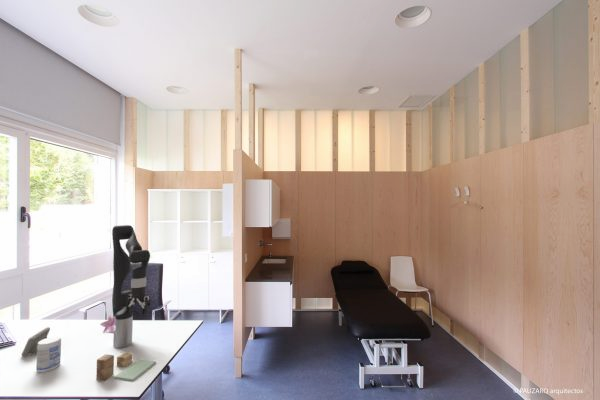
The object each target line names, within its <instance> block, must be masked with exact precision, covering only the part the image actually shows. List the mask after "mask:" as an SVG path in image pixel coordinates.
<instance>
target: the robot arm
mask: <svg viewBox="0 0 600 400" xmlns="http://www.w3.org/2000/svg"><path fill="white" fill-rule="evenodd" d="M111 235H112V246H113V262H112V264H113V267H112V268H113V288H112V289H113V291H112V292H113V293H112V306H113V308H114V309H120V308H122V309H120V310H119V311H117V312H116V313H115V316H114V317H115V328H114V331H113V339H112V342H113V347H114V348H116V349H121V348H126V347H129V346H131V345H132V344H133V325H134V324H133V322H134V321H133V320H134V319H133V318H134V317H133V315H134V312H135V304H139V305H140V306H141V308H142V309H141V315H142V316H145V315H147V313H148V312H147V309H148V308H149V307H150V306H151V296H150V295H147V296H146V293H147V268H148V264H149V261H150V258H151V253H150V251H149V250H148V249H143V248H142V245H141V244H140V243H139V241H138V239H137V235H136V233H135V230H134V227H133V226H132V225H129V224H125V225H114V226H113V227H112V232H111ZM120 240H121V241H123V240H124V241H125V240H126V242H125V249H126V250H127V252H128V254H127V252H126V251H125V250H124V249H123V247H122V244H121V241H120ZM131 264H139V265H137V266H135V267H133V268H132V266H131ZM130 272H131V281H130V289H128V290H124V291H122V290H123V285H124V282H125V280H126V279H127V278H128V276H129V274H130Z"/></svg>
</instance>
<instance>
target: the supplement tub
mask: <svg viewBox="0 0 600 400" xmlns="http://www.w3.org/2000/svg"><path fill="white" fill-rule="evenodd" d="M61 351H62V337H61V336H58V335H57V336H55V335H54V336H49V337H47V338H46V339H43V340H41V341H39V342H38V345H37V353H36V367H35V368H36V369H35V370H36V372H38V373H46V372H47V373H48V372H50V371H52V370H54V369H57V368H58V367H59V366H60V365H61V357H62V356H61Z"/></svg>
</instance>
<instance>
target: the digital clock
mask: <svg viewBox="0 0 600 400" xmlns="http://www.w3.org/2000/svg"><path fill="white" fill-rule="evenodd" d="M50 330H51V328H50V327H48V326H47V327H45V328H43V329H42V330H40V331H38V332H36V333H35V334H34V335H32V336H31V337H29V338H28V340H27V342H26V344H25V345H24V348H23V351H22V352H21V357H23V358H24V357H27V356H28V355H33V354H37V345H38V342H39V341H41V340H43V339H46V338H48V335H49V333H50Z"/></svg>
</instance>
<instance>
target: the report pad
mask: <svg viewBox="0 0 600 400" xmlns="http://www.w3.org/2000/svg"><path fill="white" fill-rule="evenodd" d="M156 363H157V361H155V360H149V359H140V358H138V359H137V360H136V361H134V362H132V364H131V363H130V364H129V366H128V365H127V366H126V367H125V368H124V369H122V371H120V372H118V373H117V374H116V375H113V376H114V377H113V379H115V380H122V381H128V382H134V381H135V380H137V379H138V378H139V377H140V376H141V375H143V374H144V373H145V372H147V371H148V370H149V369H150V368H152V367H153V366H154V365H155V364H156Z"/></svg>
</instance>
